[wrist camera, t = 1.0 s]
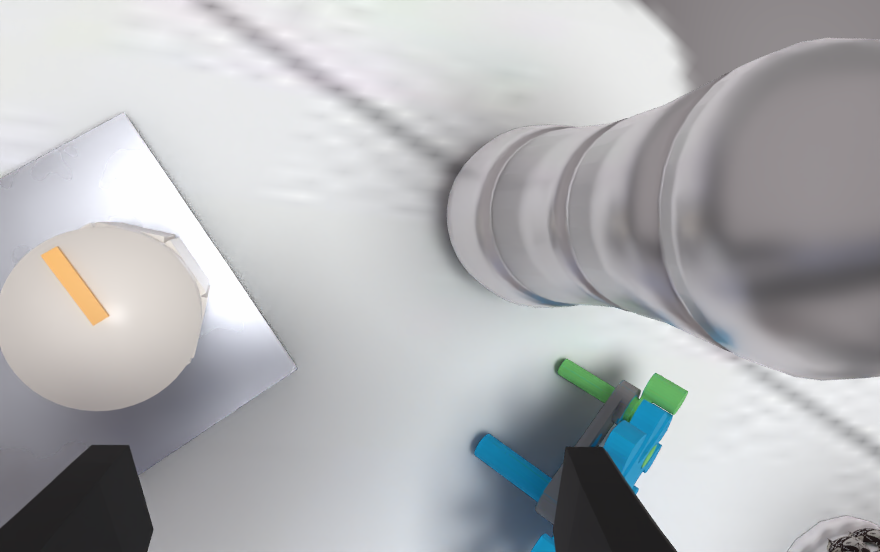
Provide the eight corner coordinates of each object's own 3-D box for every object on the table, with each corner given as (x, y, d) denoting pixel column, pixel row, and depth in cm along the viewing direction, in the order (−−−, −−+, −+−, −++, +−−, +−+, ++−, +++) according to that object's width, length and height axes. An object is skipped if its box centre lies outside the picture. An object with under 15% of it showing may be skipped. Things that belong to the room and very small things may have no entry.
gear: (543, 669, 27) (515, 666, 18) (430, 570, 29) (360, 527, 21) (687, 444, 30) (720, 352, 21) (573, 373, 32) (562, 267, 24)
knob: (233, 315, 23) (236, 344, 17) (110, 393, 22) (71, 450, 16) (153, 200, 22) (129, 192, 16) (21, 276, 21) (-52, 295, 15)
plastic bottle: (455, 111, 25) (1130, -222, 6) (606, 164, 28) (1451, 31, 9) (412, 276, 25) (964, 431, 6) (566, 316, 28) (1327, 523, 8)
